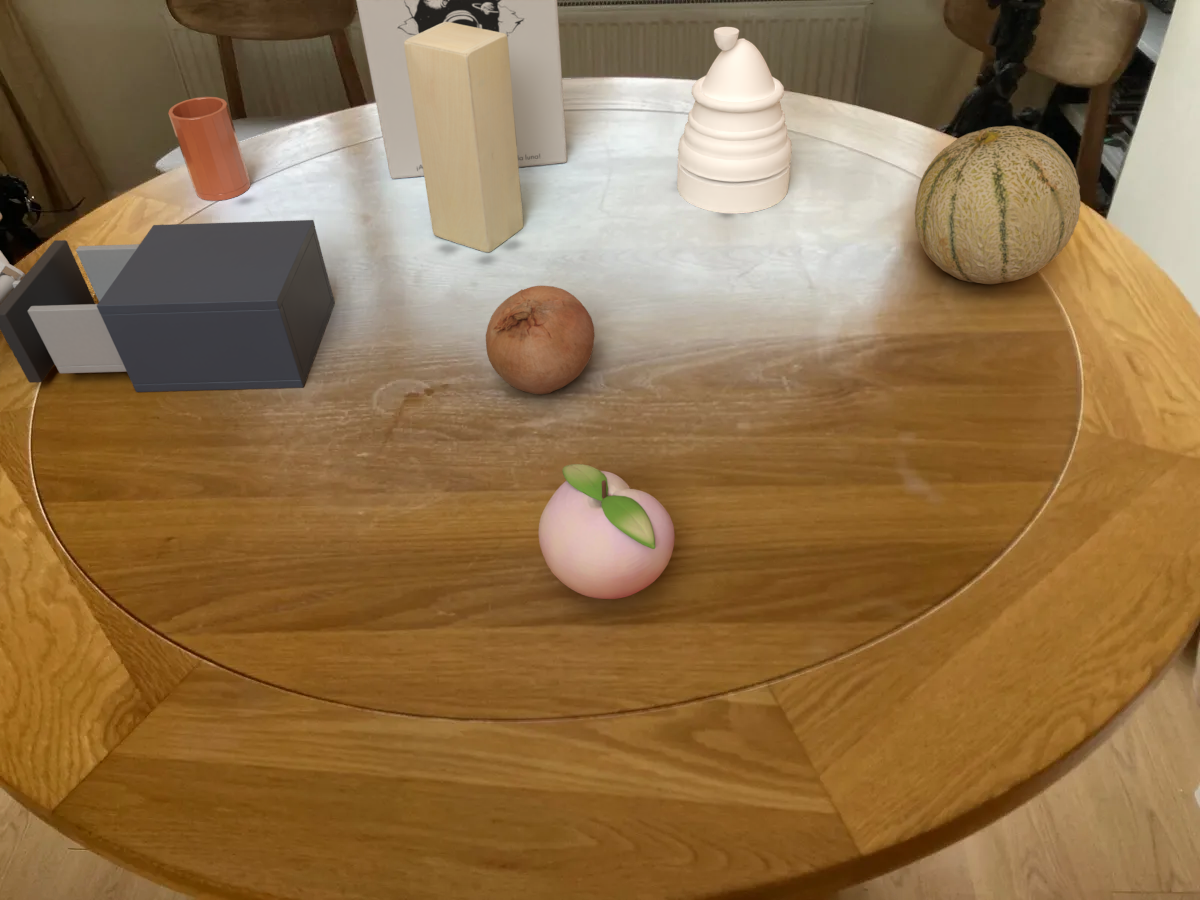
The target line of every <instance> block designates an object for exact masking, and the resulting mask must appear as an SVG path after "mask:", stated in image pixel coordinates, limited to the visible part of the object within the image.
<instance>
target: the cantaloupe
mask: <svg viewBox="0 0 1200 900" xmlns="http://www.w3.org/2000/svg"><path fill="white" fill-rule="evenodd" d="M1080 188H1081V186H1080V184H1079V178H1078V174H1077V170H1076V168H1075V167H1074V164H1073V162H1072V160H1071V158H1070V157H1069V155H1068V154H1067V152H1065V151H1064V149H1063V148H1062V147H1061V146H1060V145H1059V144H1058V143H1057V142H1056V141H1055V140H1054V139H1053V138H1050V137H1049V136H1047V135H1045V134H1043V133H1042V132H1039V131H1036V130H1032V129H1029V128H1024V127H1021V126H1015V125H1003V126H992V127H991V126H990V127H987V128H983V129H979V130H976V131H972V132H969V133H966V134H964V135H962V136H960V137H958V138H957V139H955V140H954V141H953V142H951V143H950V144H949V145H947V146H945V147H944V148H943V149H942V150H941V151H940V152H938V153H937V155H936V156H935V157H934V158H933V159H932V161H931V162H930V163H929V165H928V166H927V168H926V170H925V171H924V173H923V174H922V177H921V179H920V182H919V186H918V191H917V194H916V199H915V205H914V206H915V208H914V224H915V230H916V233H917V238H918V240H919V243H920V244H921V247H922V249H923V251H924V253H925V254H926V255H927V257H928V258H929V260H931V262H932V263H934V264H935V266H937V267H938V268H940V269H941V270H942V271H943V272H945V273H947V274H948V275H950V276H952V277H954V278H956V279H958V280H960V281H965V282H968V283H977V284H982V285H998V284H1002V283H1009V282H1015V281H1018V280H1022V279H1025V278H1027V277H1030V276H1032V275H1034V274H1036V273H1037V272H1039V271H1040V270H1042V269H1043V268H1044V267H1046V266H1047V265H1048V264H1050V263H1051V262H1052V261H1053V260H1054V259H1056V258H1057V257H1058V256H1059V255H1060V253H1061V252H1063V250H1064V248H1065V247H1066V246H1067V245H1068V243H1069V242H1070V240H1071V239H1072V236H1073V234H1074V231H1075V229H1076V227H1077V225H1078V224H1079V223H1078V222H1079V220H1080V219H1079V218H1080V217H1079V216H1080V213H1081V211H1080V209H1081V195H1080V190H1081V189H1080Z"/></svg>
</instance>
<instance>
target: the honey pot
mask: <svg viewBox="0 0 1200 900" xmlns="http://www.w3.org/2000/svg"><path fill="white" fill-rule="evenodd" d="M739 34H740V30H739V29H738V28H737V27H733V26H721V27H717V28H715V29H714V30H713V38H714V42H715V44H716V46H717V47H718V48H719V49H720V50H721V51H720V52H719V54H717V56H716V58H715V59H714V60H713V62H712V64H711V65H710V68H709V69H708V71H707V73H706V75H704V76H702V77H700V78H699V79H697V80H696V81H695V82H694V84H692V86H691V95H692V98H693V99H694V103H693V106H692V108H691V109H690V111H689V112H688V115H687V121H686V123H685V126H684V130H683V134H681V136H680V138H679V140H678V141H679V142H678V147H677V151H678V152H677V153H678V155H677V178H676V181H677V182H676V189H677V192H678V194H679V197H681V198H682V199H683V201H685V202H686V203H688V204H690V205H692V206H694V207H696V208H698V209H702V210H704V211H708V212H712V213H713V212H714V213H720V214H732V215H733V214H737V215H738V214H740V215H741V214H748V213H750V214H751V213H755V212H759V211H763V210H767V209H769V208H771V207H773V206H777V205H778V204H779V203H780V202H781V201H783V200H785V197H786V195H788V191H789V182H790V171H791V161H792V149H793V148H792V140H791V138H790V137H789V134H788V125H787V124H786V114H785V112H784V110H783V108H782V105H781V101H782V99H783V97H784V95H785V87H784V85H783V84H782V82H781V81H780V80H779V79H777V78H775V77H774V76H772V73H771V70H770V68H769V65H768V64H767V62H766V60H765V58H764V56H763V55H762V53H761V51H760V50H759V49H758V48H757V47H756V45H755V44H754V43H753V42H751V41H749V40H747V39H746V38H739Z"/></svg>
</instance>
